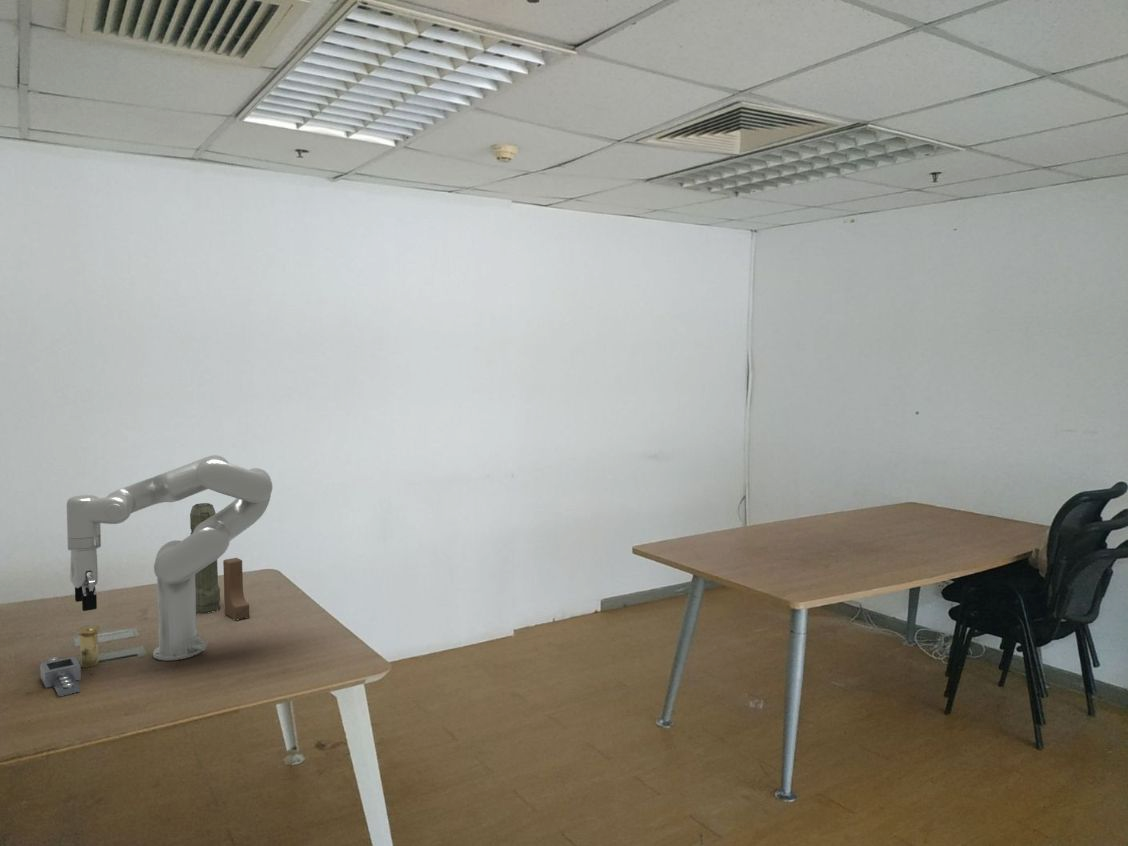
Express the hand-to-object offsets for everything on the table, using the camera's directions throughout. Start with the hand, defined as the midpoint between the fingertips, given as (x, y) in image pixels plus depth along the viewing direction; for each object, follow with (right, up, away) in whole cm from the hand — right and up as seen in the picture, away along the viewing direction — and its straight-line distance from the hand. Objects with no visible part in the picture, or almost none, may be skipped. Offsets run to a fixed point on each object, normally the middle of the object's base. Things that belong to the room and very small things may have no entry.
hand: (85, 605), depth 206 cm
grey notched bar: (-1, -17, -8) cm, 19 cm away
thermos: (+10, -13, +47) cm, 50 cm away
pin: (0, -16, +1) cm, 16 cm away
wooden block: (+23, -13, +41) cm, 49 cm away
